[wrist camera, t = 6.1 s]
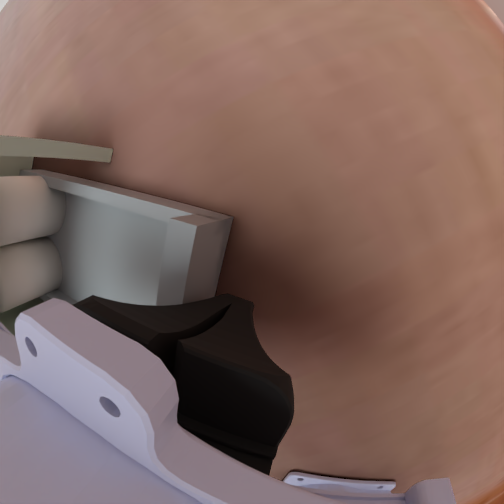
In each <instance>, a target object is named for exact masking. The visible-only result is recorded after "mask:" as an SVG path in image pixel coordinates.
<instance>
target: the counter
mask: <svg viewBox="0 0 504 504" xmlns="http://www.w3.org/2000/svg"><path fill="white" fill-rule="evenodd" d="M112 152H113V149H110V148H104V147H98V146H92V145H85V144H79V143H71V142H64V141H56V140H47V139H38V138H28V137H16V136H2V135H0V177H5V176H19V173H20V170H24V169H32V165H33V159H34V157H48V158H64V159H77V160H88V161H99V162H109V163H110V161H111V157H112ZM43 302H45V301H43V300H42V299H41V298H39V297H38V298H35V299H33V300H31V301H28V302H26V303H24V304H21V305H19V306H17V307H14V308H12V309H10V310H8V311H5V312H3V313H0V322H1V323H2V324H3V325H4V326H5V327H6V328H7V329H8V330H9V331H10V332H11V333H12V334H13V335H14V336H15V320H16V318H17V317H18V316H19V314H20V313H21V312H23V311H26V310H28V309H30V308H32V307H34V306H37V305H39V304H41V303H43Z"/></svg>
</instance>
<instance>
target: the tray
mask: <svg viewBox="0 0 504 504" xmlns="http://www.w3.org/2000/svg"><path fill="white" fill-rule="evenodd" d="M232 221H233V217H232V216H228V215H224V214H221V213H217V212H214V211H210V210H206V209H203V208H199V207H195V206H191V205H188V204H184V203H180V202H176V201H172V200H169V199H165V198H161V197H157V196H153V195H149V194H145V193H141V192H137V191H133V190H129V189H125V188H121V187H117V186H113V185H108V184H104V183H100V182H96V181H91V180H87V179H83V178H78V177H74V176H69V175H65V174H60V173H56V172H51V171H47V170H38V169H24V170H20V173H19V176H5V177H0V313H3V312H5V311H8V310H10V309H12V308H14V307H17V306H19V305H21V304H24V303H26V302H28V301H31V300H33V299H35V298H38V297H39V298H41V299H42V300H43V301H45V302H46V301H48V300H50V299H52V298H56V299H60V300H63V301H66V302H68V303H69V304H71V305H73V304H75V303H77V302H79V301H81V300H83V299H85V298H87V297H89V296H91V295H95V296H98V297H102V298H105V299H109V300H113V301H118V302H123V303H129V304H137V305H155V306H166V305H178V304H185V303H190V302H195V301H200V300H204V299H208V298H212V297H215V293H216V288H217V284H218V280H219V275H220V271H221V267H222V262H223V258H224V254H225V250H226V245H227V241H228V237H229V233H230V229H231V225H232Z"/></svg>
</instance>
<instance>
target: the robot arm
mask: <svg viewBox="0 0 504 504" xmlns="http://www.w3.org/2000/svg"><path fill="white" fill-rule="evenodd" d="M253 309H254V304H253V302H251V301H248V300H245V299H242V298H239V297H236V296H233V295H230V294H223V295H219V296H215V297H212V298H208V299H204V300H200V301H195V302H190V303H185V304H178V305H166V306H155V305H137V304H129V303H123V302H118V301H113V300H109V299H105V298H102V297H98V296H95V295H91V296H89V297H87V298H85V299H83V300H81V301H79V302H77V303H75V304H73V305H71V304H69V303H68V302H66V301H63V300H60V299H56V298H52V299H50V300H48V301H46V302H43V303H41V304H39V305H37V306H34V307H32V308H30V309H28V310H26V311H23V312H21V313H20V314H19V316H18V317H17V318H16V320H15V336H14V335H13V334H12V333H11V332H10V331H9V330H8V329H7V328H6V327H5V326H4V325H3V324H2V323H1V322H0V504H456V501H455V497H454V493H453V490H452V486H451V482H450V479H449V478H438V479H427V480H422V481H420V482H418V483H416V484H414V485H413V486H412V487H411V488H409V489H408V490H407V491H406V492H405V493H395V494H391V490H392V489H393V488H394V487H395V486H396V482H393V481H363V480H350V479H340V478H332V477H324V476H317V475H311V474H306V473H300V472H290V473H289V474H288V475H287V476H286V477H285V479H284V480H283V481H280V480H278V479H275V478H273V477H271V476H269V473H270V469H271V465H272V461H273V460H274V458H275V456H276V453H277V448H278V445H279V443H280V442H281V440H282V439H283V437H284V435H285V434H286V432H287V430H288V428H289V427H290V425H291V422H292V419H293V415H294V395H293V387H292V381H291V377H290V375H288V374H287V373H286V372H285V371H283V370H282V369H281V368H279V367H278V366H277V365H276V364H275V363H274V362H273V361H272V360H271V359H270V358H269V357H268V355H267V354H266V353H265V351H264V350H263V348H262V347H261V345H260V343H259V340H258V338H257V335H256V332H255V328H254V324H253V316H252V312H253Z"/></svg>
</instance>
